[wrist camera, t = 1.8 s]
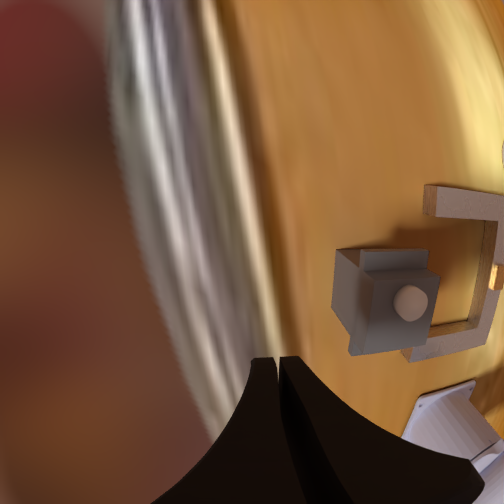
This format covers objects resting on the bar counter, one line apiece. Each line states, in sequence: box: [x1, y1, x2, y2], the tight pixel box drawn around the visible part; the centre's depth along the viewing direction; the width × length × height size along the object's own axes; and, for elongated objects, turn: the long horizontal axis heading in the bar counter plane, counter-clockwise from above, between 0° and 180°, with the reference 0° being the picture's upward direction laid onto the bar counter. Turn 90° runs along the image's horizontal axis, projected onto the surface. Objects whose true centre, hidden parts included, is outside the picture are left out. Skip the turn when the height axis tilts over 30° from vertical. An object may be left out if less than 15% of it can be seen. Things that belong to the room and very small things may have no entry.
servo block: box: [331, 248, 440, 356], centre depth 16 cm, size 6×4×7 cm, turn 0°
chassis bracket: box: [401, 185, 504, 363], centre depth 19 cm, size 13×9×2 cm
